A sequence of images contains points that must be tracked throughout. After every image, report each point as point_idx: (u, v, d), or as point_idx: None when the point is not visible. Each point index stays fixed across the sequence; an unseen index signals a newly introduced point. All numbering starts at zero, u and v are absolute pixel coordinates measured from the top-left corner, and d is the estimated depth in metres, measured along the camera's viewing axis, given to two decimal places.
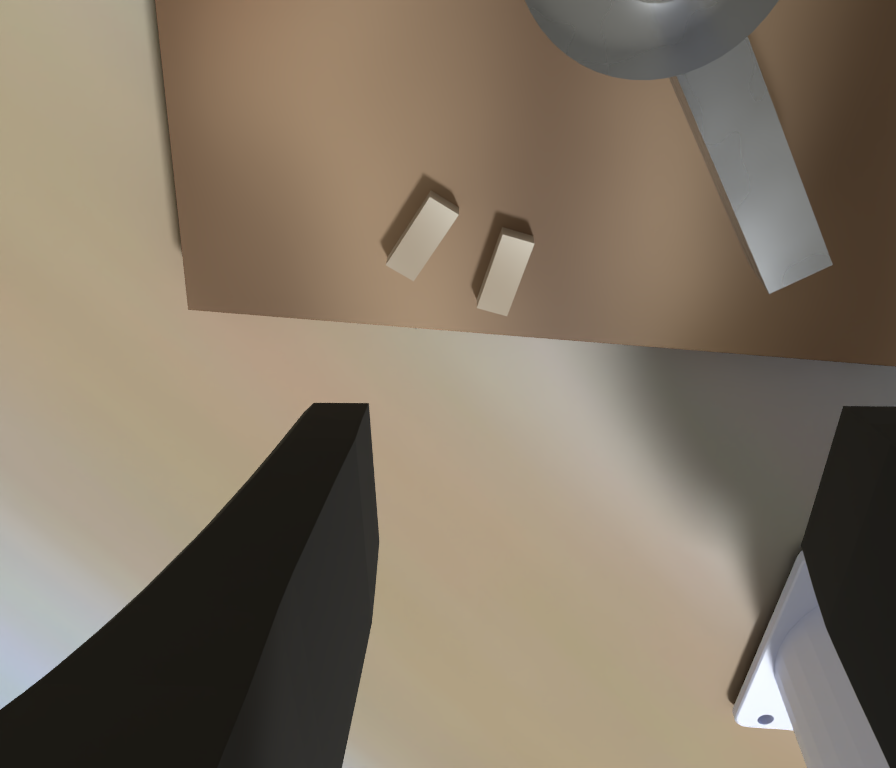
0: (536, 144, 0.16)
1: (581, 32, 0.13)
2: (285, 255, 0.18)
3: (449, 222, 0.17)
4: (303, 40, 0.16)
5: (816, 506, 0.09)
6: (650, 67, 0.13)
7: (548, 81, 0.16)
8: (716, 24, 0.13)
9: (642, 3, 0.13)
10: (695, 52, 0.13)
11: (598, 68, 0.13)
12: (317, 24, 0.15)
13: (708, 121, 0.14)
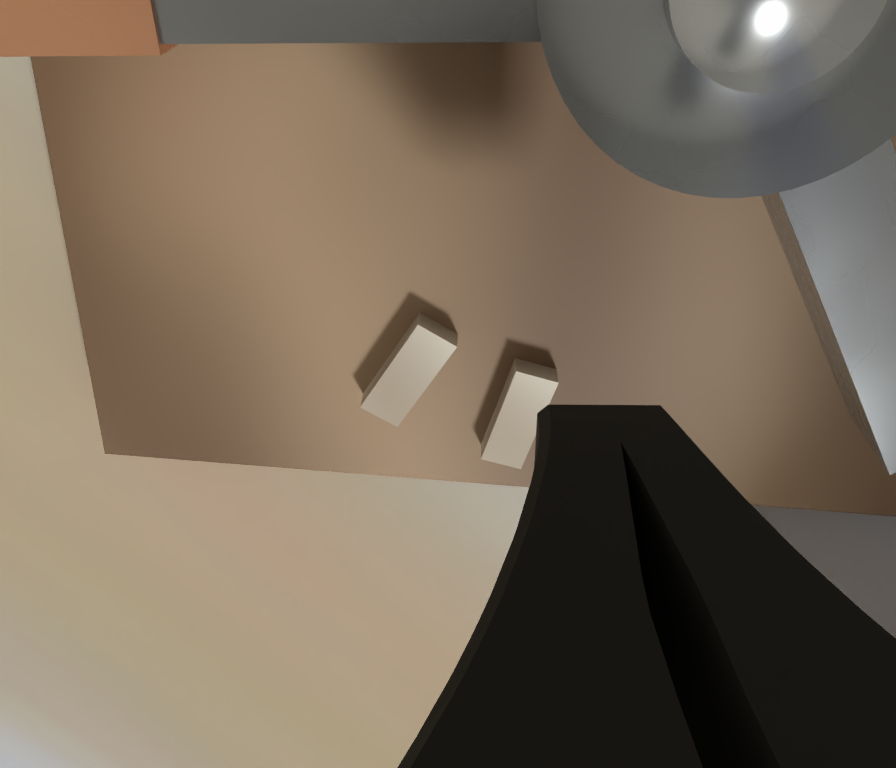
0: (562, 256, 0.12)
1: (640, 131, 0.09)
2: (229, 390, 0.14)
3: (445, 356, 0.13)
4: (241, 120, 0.11)
5: None
6: (741, 180, 0.09)
7: (580, 175, 0.11)
8: (845, 120, 0.09)
9: (735, 90, 0.08)
10: (810, 159, 0.09)
11: (663, 181, 0.09)
12: (260, 100, 0.11)
13: (821, 253, 0.09)
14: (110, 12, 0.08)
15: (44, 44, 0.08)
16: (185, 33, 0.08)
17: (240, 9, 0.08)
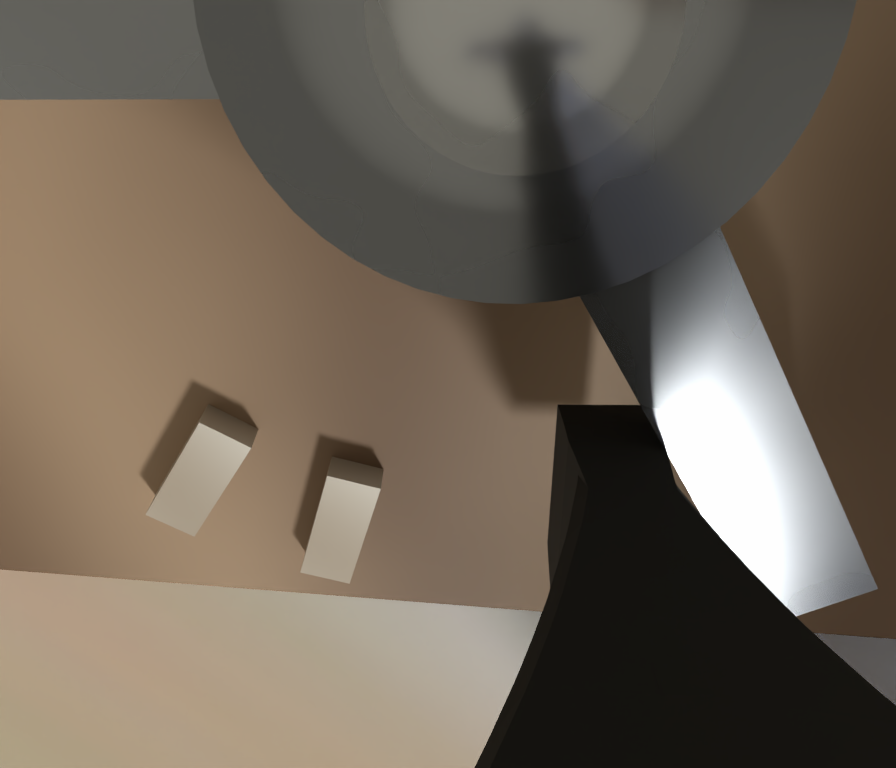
0: (373, 340, 0.10)
1: (376, 218, 0.06)
2: None
3: (239, 458, 0.10)
4: None
5: (550, 503, 0.09)
6: (523, 282, 0.07)
7: None
8: (652, 207, 0.06)
9: None
10: (613, 255, 0.06)
11: (420, 281, 0.07)
12: None
13: (645, 371, 0.07)
14: None
15: None
16: None
17: None
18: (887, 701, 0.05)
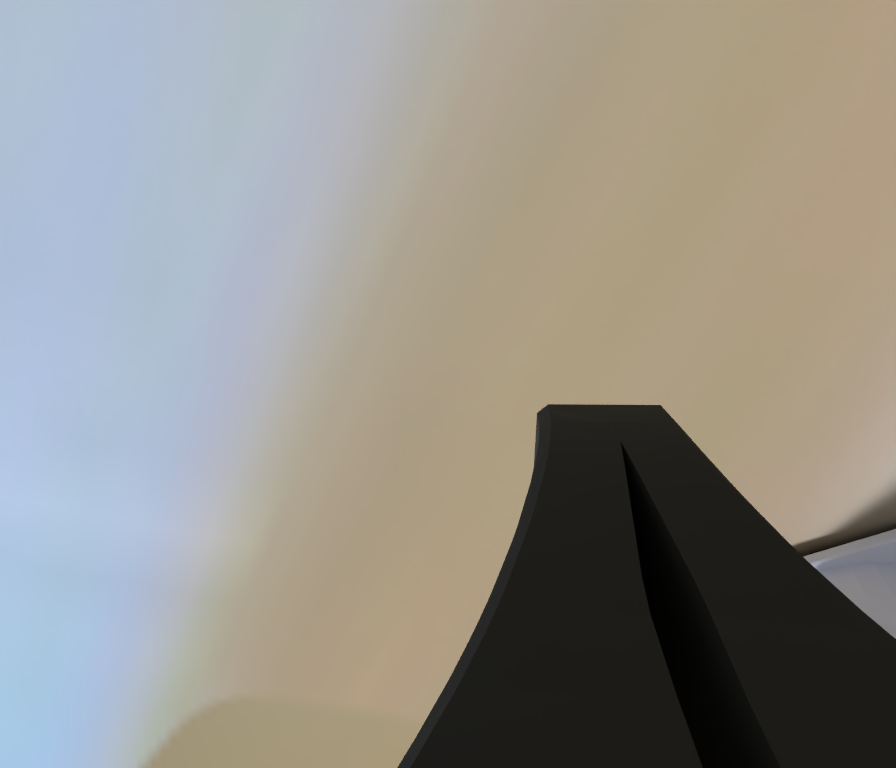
0: None
1: None
2: None
3: None
4: None
5: None
6: None
7: None
8: None
9: None
10: None
11: None
12: None
13: None
14: None
15: None
16: None
17: None
18: None
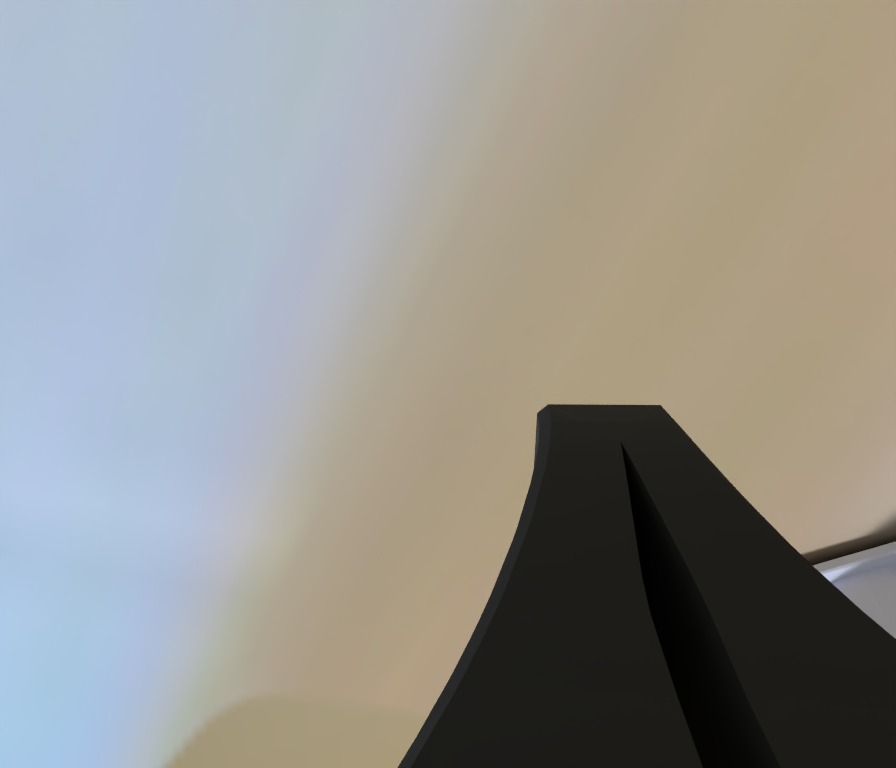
0: None
1: None
2: None
3: None
4: None
5: None
6: None
7: None
8: None
9: None
10: None
11: None
12: None
13: None
14: None
15: None
16: None
17: None
18: None
